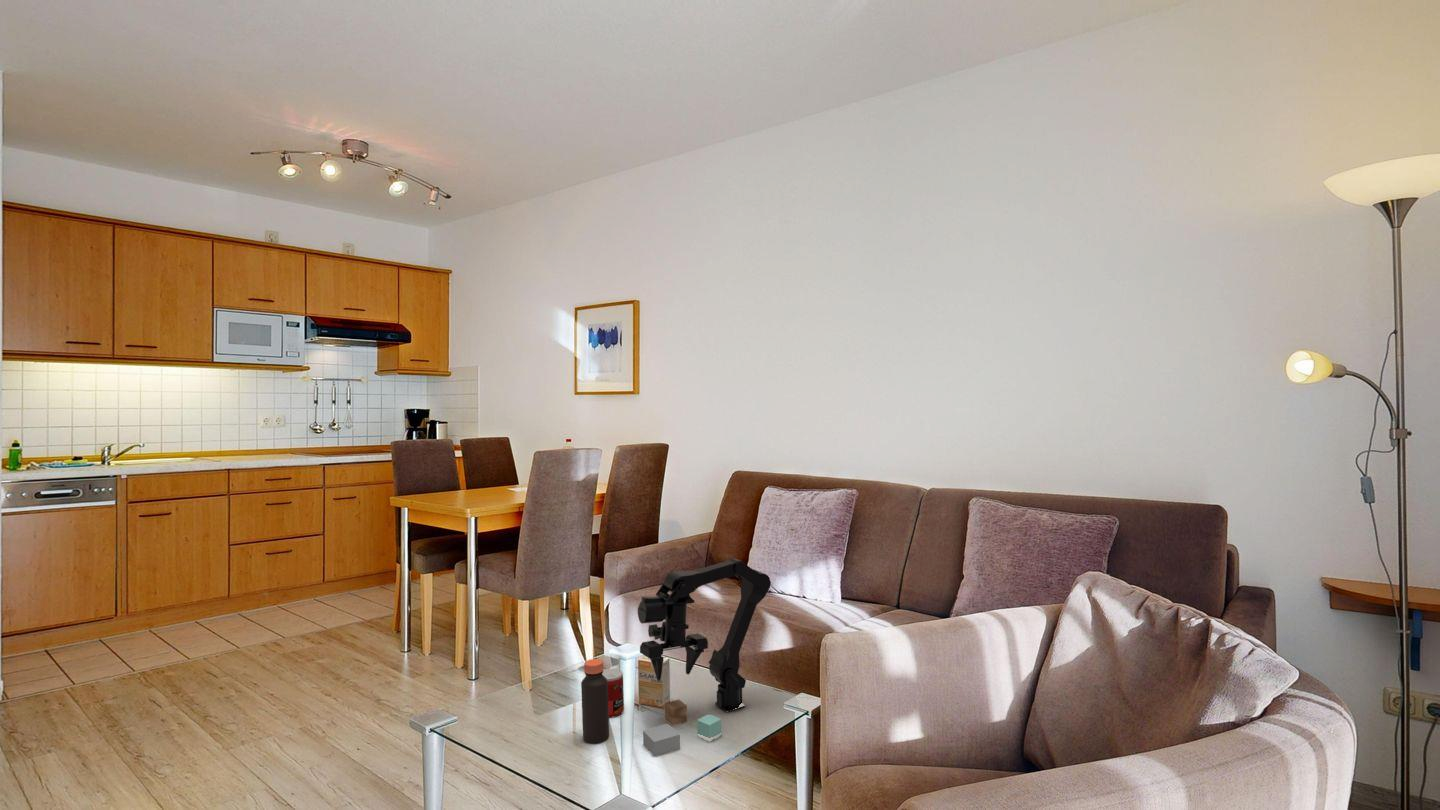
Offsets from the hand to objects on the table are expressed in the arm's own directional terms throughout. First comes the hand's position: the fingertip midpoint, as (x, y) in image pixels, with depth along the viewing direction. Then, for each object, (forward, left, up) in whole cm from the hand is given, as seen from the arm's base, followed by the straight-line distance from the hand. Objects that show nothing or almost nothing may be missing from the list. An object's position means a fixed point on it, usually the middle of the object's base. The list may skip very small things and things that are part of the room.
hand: (673, 676), depth 203 cm
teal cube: (-3, +13, -12) cm, 18 cm away
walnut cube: (0, 0, -12) cm, 12 cm away
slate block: (+10, +11, -12) cm, 19 cm away
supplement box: (0, -13, -12) cm, 18 cm away
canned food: (+13, -15, -12) cm, 23 cm away
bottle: (+22, -3, -12) cm, 25 cm away
